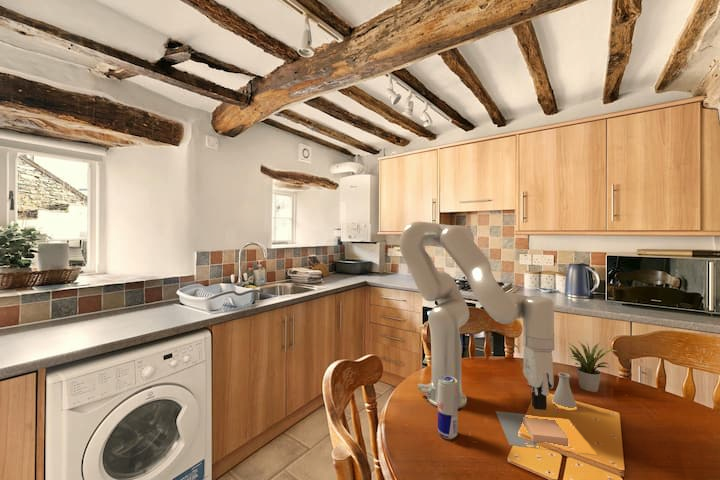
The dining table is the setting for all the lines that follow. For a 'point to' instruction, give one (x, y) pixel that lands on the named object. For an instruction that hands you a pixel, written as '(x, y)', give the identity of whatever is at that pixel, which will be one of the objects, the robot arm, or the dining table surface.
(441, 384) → the beverage can
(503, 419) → the mat
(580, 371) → the house plant
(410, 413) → the dining table surface
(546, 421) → the tile
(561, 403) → the flask
